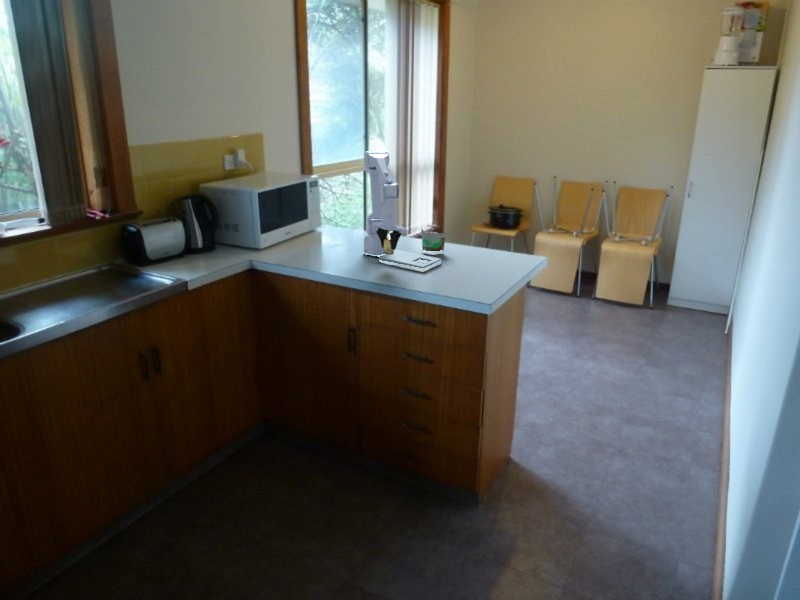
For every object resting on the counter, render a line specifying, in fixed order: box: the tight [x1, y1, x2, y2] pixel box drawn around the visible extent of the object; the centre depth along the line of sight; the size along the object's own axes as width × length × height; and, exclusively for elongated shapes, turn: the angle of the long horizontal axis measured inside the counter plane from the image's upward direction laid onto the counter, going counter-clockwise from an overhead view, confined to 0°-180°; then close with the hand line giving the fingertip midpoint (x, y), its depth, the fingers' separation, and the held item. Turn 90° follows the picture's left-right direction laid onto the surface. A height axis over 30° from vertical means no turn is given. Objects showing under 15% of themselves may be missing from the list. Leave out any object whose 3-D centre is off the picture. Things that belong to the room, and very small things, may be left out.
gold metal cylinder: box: [384, 236, 395, 255], centre depth 236 cm, size 4×4×6 cm
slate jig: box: [378, 249, 442, 268], centre depth 245 cm, size 22×14×2 cm, turn 56°
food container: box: [419, 228, 448, 251], centre depth 259 cm, size 12×6×10 cm, turn 62°
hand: (388, 248), depth 236 cm, fingers closed on gold metal cylinder, 4 cm apart
